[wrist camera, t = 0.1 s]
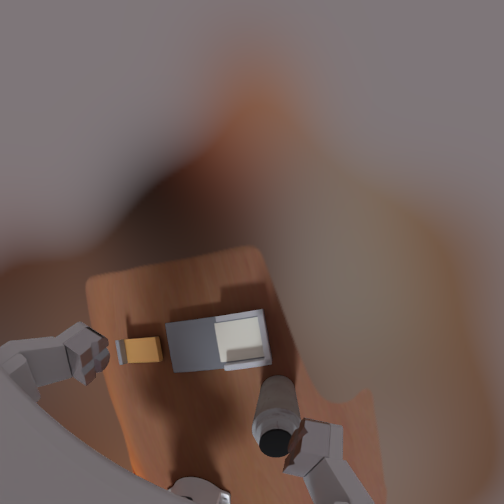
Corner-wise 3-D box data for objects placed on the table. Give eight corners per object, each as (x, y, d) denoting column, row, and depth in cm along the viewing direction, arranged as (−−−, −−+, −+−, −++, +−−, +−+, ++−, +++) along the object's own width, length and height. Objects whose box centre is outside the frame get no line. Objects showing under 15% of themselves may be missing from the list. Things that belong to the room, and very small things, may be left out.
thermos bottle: (290, 408, 57) (296, 469, 30) (257, 402, 58) (242, 460, 31) (298, 378, 59) (312, 426, 31) (264, 372, 60) (254, 417, 32)
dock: (272, 359, 60) (271, 364, 54) (178, 370, 62) (169, 375, 56) (263, 308, 63) (262, 309, 57) (169, 322, 64) (159, 323, 58)
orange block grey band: (164, 359, 62) (154, 363, 56) (131, 361, 63) (119, 364, 57) (160, 335, 64) (150, 337, 58) (127, 338, 64) (115, 340, 58)
